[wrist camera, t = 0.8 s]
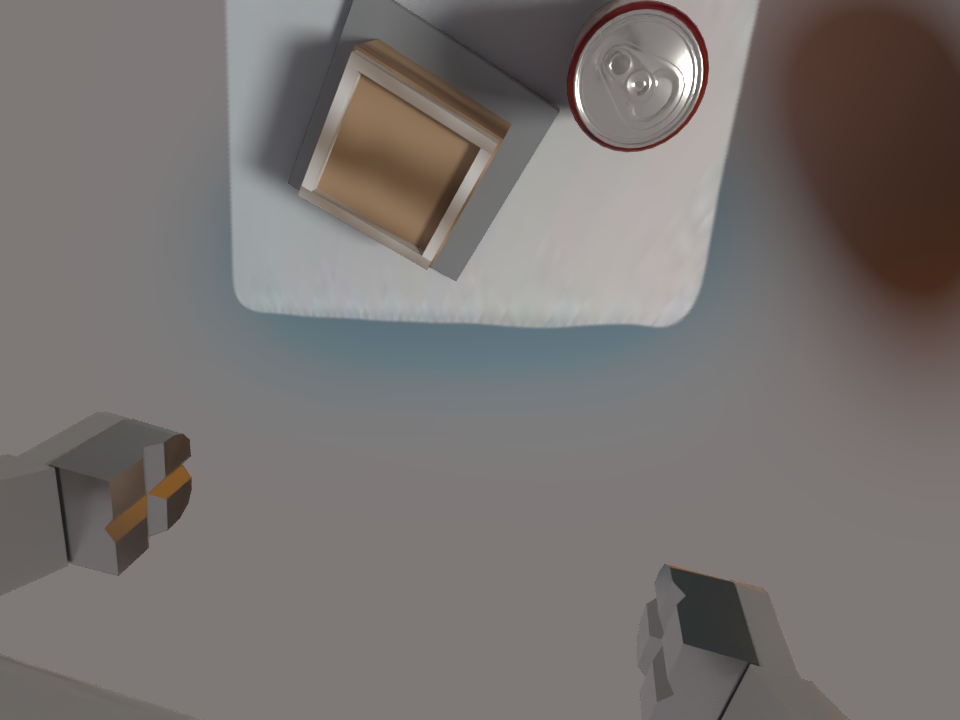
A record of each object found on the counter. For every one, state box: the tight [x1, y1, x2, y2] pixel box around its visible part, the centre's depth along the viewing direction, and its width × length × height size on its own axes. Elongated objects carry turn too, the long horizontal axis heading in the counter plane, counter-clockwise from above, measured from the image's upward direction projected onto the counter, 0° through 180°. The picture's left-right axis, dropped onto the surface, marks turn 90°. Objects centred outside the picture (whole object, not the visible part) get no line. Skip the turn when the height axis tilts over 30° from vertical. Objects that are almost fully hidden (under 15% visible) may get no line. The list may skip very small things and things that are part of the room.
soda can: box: [567, 0, 709, 152], centre depth 35 cm, size 7×7×12 cm
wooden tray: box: [298, 39, 511, 270], centre depth 42 cm, size 11×11×6 cm
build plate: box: [288, 0, 560, 281], centre depth 45 cm, size 16×16×1 cm
